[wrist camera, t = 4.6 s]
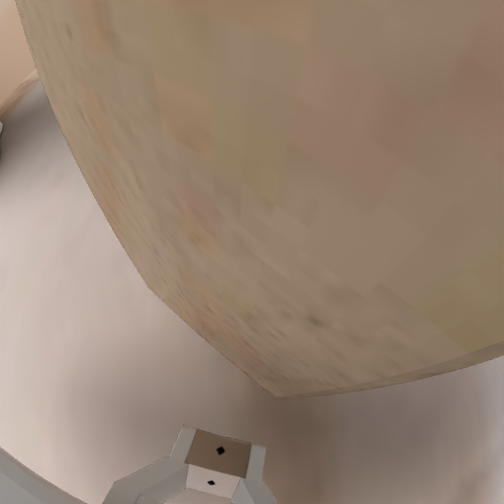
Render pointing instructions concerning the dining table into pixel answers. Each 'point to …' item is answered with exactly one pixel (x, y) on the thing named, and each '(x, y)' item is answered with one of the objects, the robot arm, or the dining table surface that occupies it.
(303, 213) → the wooden block
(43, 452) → the dining table surface
